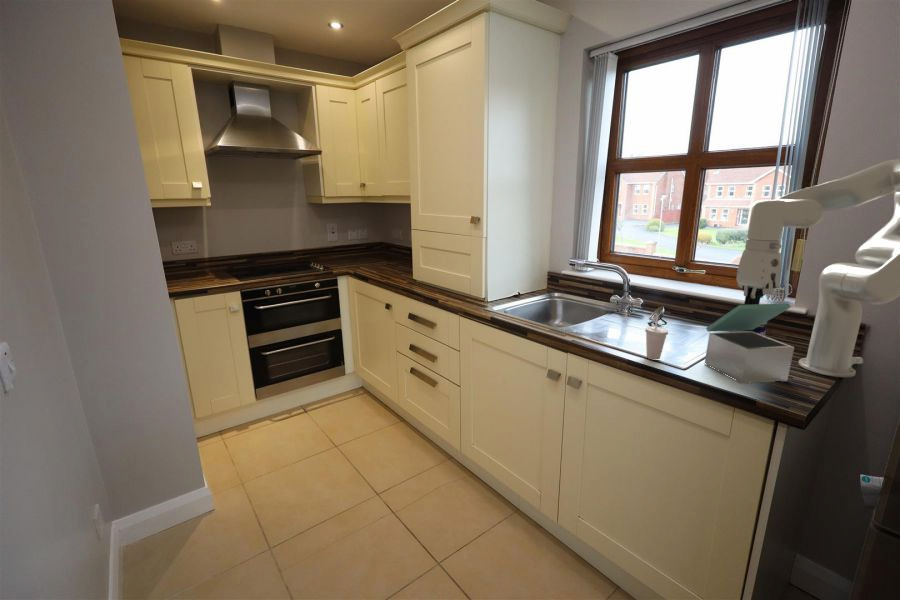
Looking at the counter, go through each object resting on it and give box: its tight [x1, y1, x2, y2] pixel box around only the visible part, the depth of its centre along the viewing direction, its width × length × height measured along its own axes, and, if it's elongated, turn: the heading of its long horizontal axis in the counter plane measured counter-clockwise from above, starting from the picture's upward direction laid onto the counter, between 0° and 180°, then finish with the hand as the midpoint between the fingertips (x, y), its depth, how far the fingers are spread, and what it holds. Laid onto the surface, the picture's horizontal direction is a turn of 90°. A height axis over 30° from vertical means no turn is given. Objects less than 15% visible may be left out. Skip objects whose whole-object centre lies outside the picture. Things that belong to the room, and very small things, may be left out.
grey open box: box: [704, 330, 795, 384], centre depth 119 cm, size 14×14×10 cm
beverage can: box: [743, 321, 768, 336], centre depth 133 cm, size 6×6×12 cm
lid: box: [705, 302, 792, 333], centre depth 119 cm, size 15×14×2 cm
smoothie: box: [644, 314, 669, 359], centre depth 129 cm, size 6×6×14 cm
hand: (750, 310), depth 117 cm, fingers closed
